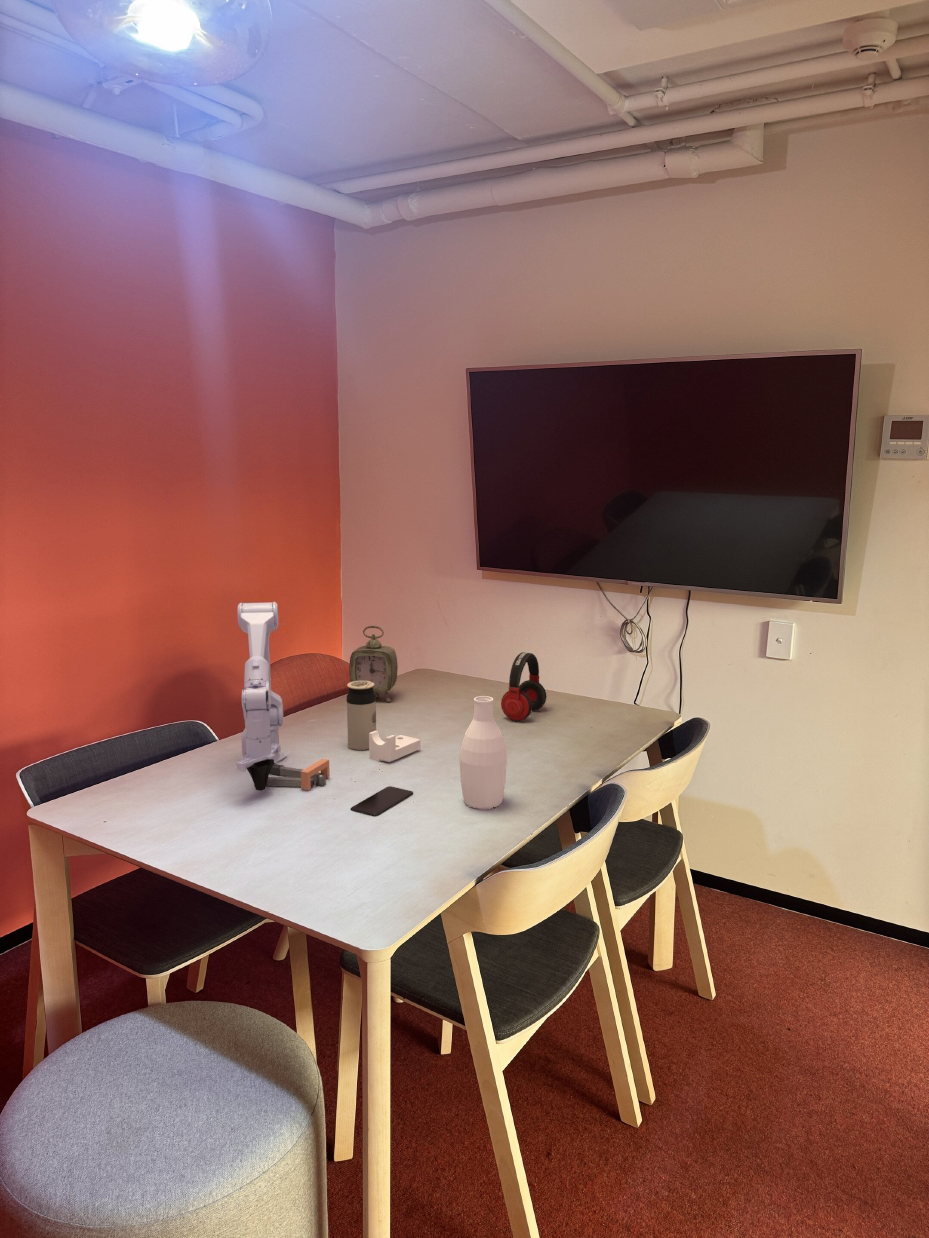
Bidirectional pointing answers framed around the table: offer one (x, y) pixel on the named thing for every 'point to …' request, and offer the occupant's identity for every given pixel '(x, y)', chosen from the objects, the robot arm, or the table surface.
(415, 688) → the table surface
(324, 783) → the base
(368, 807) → the smartphone
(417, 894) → the table surface
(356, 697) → the travel mug
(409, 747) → the bracket
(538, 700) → the headphones
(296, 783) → the tong arm
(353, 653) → the tabletop clock
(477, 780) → the bottle
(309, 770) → the orange bridge block
